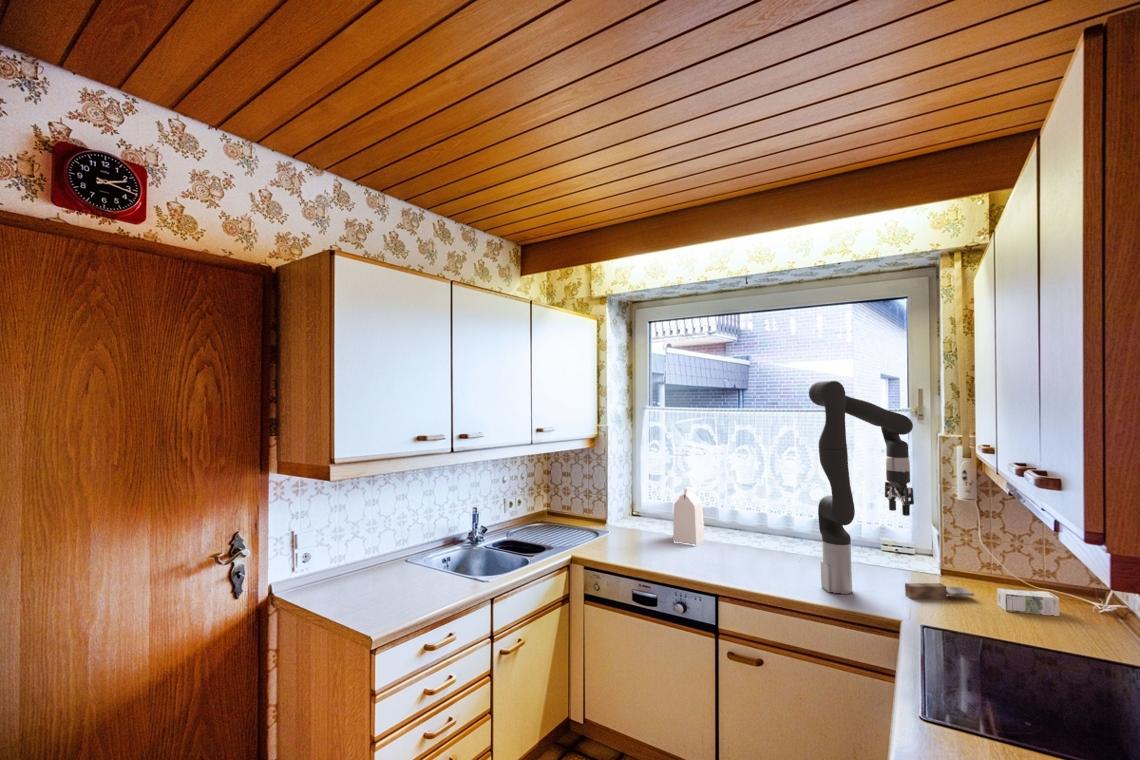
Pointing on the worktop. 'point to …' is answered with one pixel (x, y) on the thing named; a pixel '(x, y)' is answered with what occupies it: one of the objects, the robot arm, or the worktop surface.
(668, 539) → the worktop surface
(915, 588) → the turner
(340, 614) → the worktop surface
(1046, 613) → the syrup box
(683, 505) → the milk
